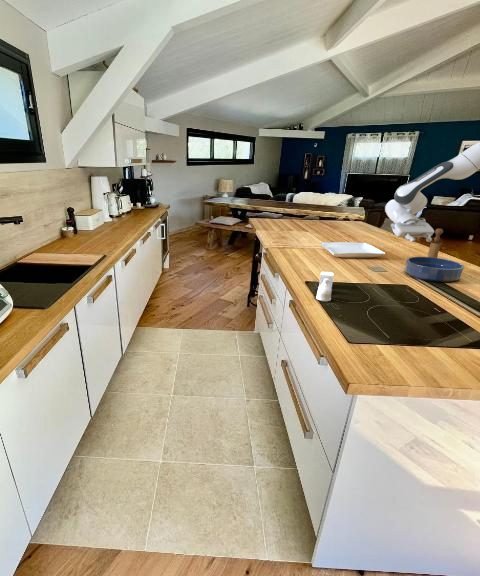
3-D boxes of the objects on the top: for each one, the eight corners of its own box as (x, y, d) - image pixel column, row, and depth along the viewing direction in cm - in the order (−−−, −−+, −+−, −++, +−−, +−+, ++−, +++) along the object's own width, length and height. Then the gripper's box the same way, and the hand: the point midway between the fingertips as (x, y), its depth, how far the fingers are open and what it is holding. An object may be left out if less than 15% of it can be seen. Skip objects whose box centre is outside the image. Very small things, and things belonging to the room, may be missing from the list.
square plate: (364, 248, 191) (365, 241, 190) (385, 260, 166) (387, 252, 164) (318, 247, 194) (319, 241, 192) (332, 259, 168) (333, 252, 167)
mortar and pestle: (420, 262, 161) (428, 227, 154) (434, 262, 160) (443, 227, 153) (426, 266, 155) (435, 229, 148) (441, 266, 153) (451, 230, 147)
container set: (319, 283, 134) (320, 271, 132) (332, 284, 132) (334, 272, 130) (315, 300, 117) (317, 286, 115) (330, 302, 115) (332, 288, 113)
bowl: (450, 270, 147) (453, 258, 145) (468, 285, 129) (472, 271, 127) (399, 267, 154) (402, 255, 152) (410, 280, 136) (413, 266, 134)
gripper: (392, 218, 160) (407, 236, 151) (427, 218, 163) (443, 236, 154) (385, 227, 164) (399, 245, 156) (418, 228, 168) (434, 245, 159)
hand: (421, 240), depth 155 cm, fingers open, 8 cm apart
